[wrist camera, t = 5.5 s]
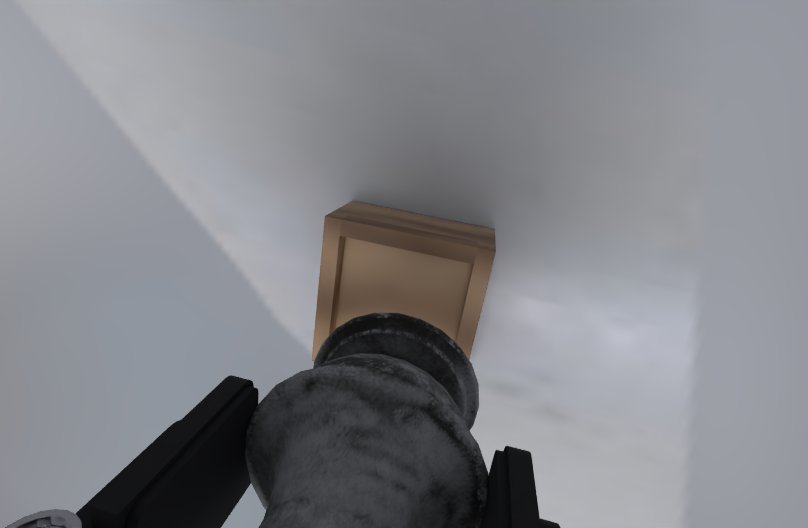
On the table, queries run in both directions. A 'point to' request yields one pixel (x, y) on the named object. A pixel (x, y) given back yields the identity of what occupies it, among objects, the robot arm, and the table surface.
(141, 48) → the table surface
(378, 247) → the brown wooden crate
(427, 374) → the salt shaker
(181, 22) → the table surface
